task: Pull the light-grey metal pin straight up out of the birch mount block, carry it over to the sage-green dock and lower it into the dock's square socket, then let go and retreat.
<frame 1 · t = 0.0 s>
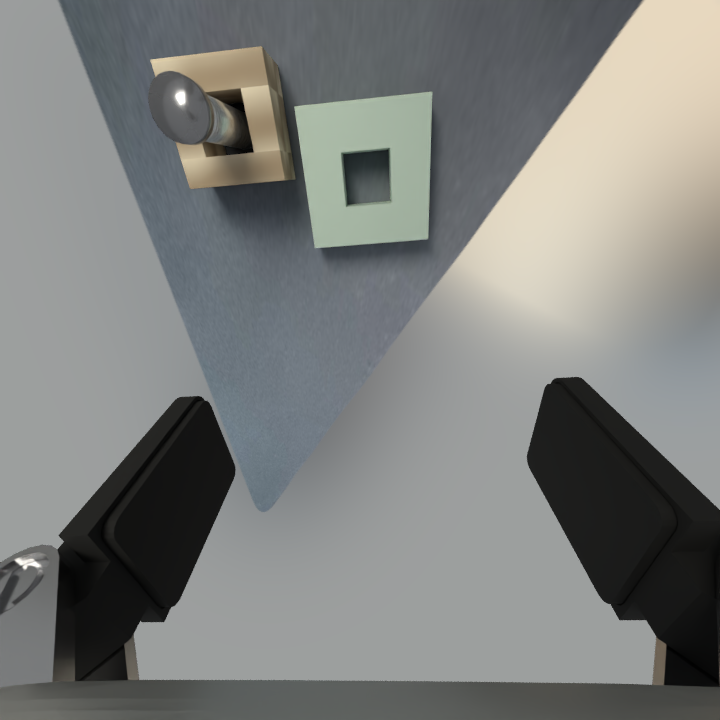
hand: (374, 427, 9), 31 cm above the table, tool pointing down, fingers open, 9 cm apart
mount: (242, 131, 31), on the table
pin: (217, 122, 26), in the mount
dock: (367, 178, 33), on the table
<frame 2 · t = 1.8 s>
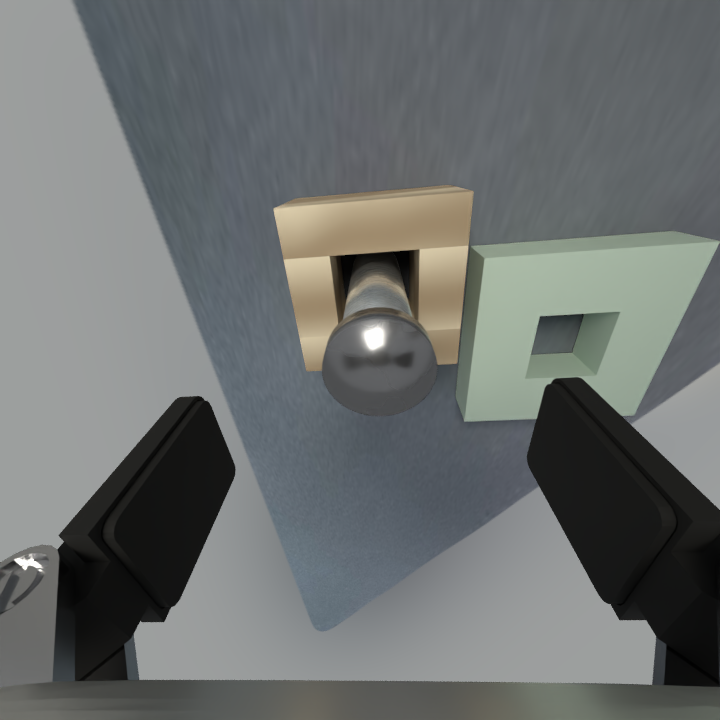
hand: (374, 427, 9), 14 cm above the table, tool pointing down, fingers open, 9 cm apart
mount: (375, 268, 21), on the table
pin: (376, 303, 16), in the mount
dock: (547, 326, 23), on the table
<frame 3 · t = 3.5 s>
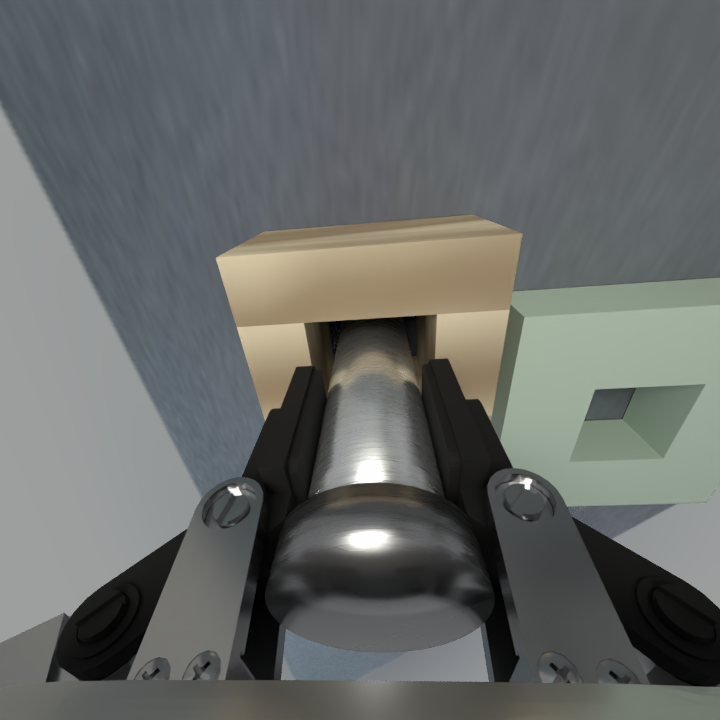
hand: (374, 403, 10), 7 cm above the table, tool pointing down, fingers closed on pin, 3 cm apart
mount: (372, 320, 16), on the table
pin: (373, 392, 11), in the mount, touching gripper
dock: (592, 389, 18), on the table
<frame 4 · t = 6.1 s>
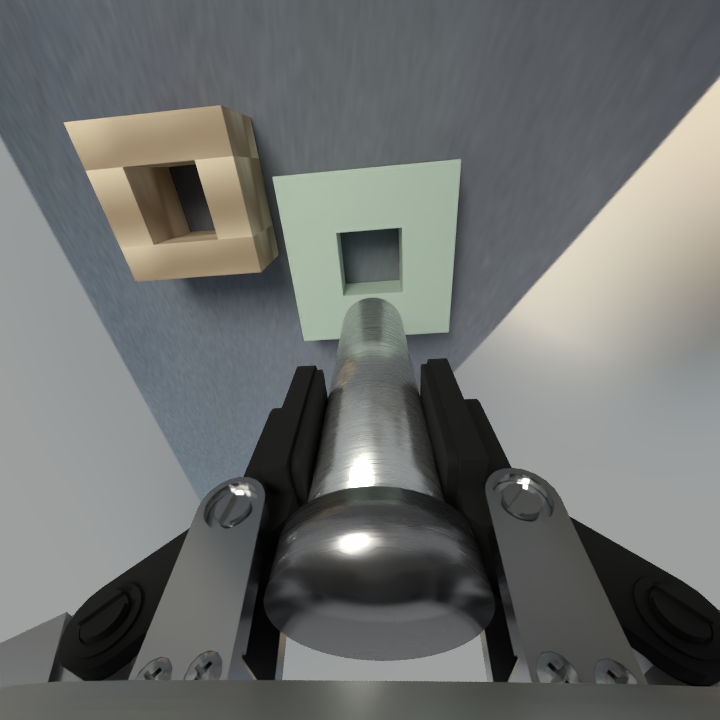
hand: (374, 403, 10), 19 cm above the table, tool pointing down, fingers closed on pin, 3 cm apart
mount: (207, 198, 24), on the table
pin: (373, 397, 11), point 18 cm above the table, touching gripper
dock: (370, 254, 26), on the table
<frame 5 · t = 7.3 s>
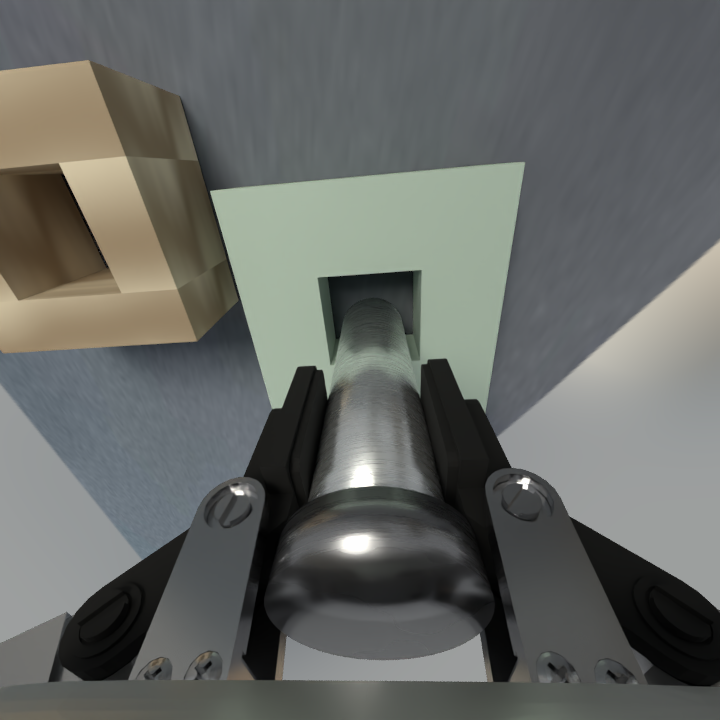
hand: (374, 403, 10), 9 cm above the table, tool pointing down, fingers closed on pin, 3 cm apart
mount: (126, 220, 16), on the table
pin: (373, 397, 11), point 8 cm above the table, touching gripper
dock: (371, 299, 18), on the table
when the fingers open (8 cm above the table, at t = 8.5 s): pin stays where it is, resting in dock.
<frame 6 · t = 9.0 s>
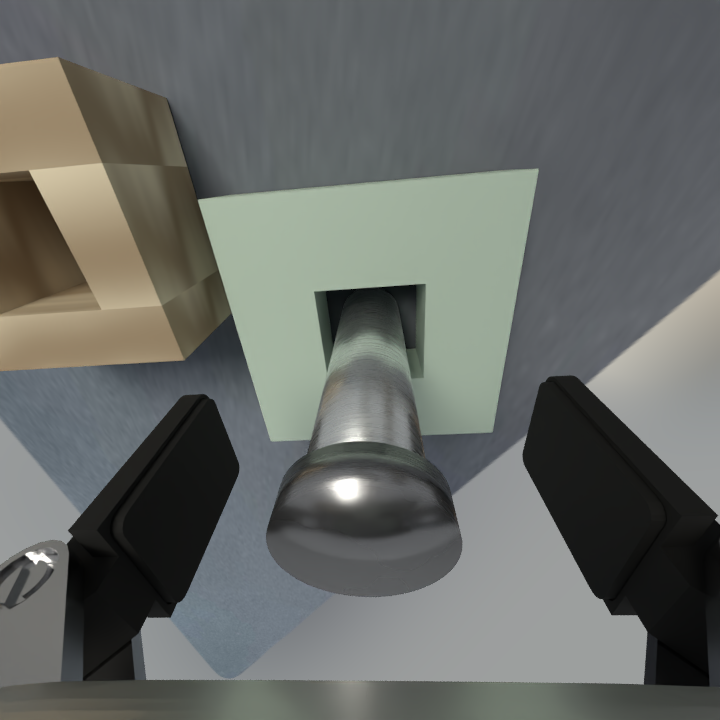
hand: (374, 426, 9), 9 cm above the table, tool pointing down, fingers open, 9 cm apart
mount: (112, 230, 15), on the table
pin: (368, 377, 11), in the dock
dock: (372, 312, 17), on the table
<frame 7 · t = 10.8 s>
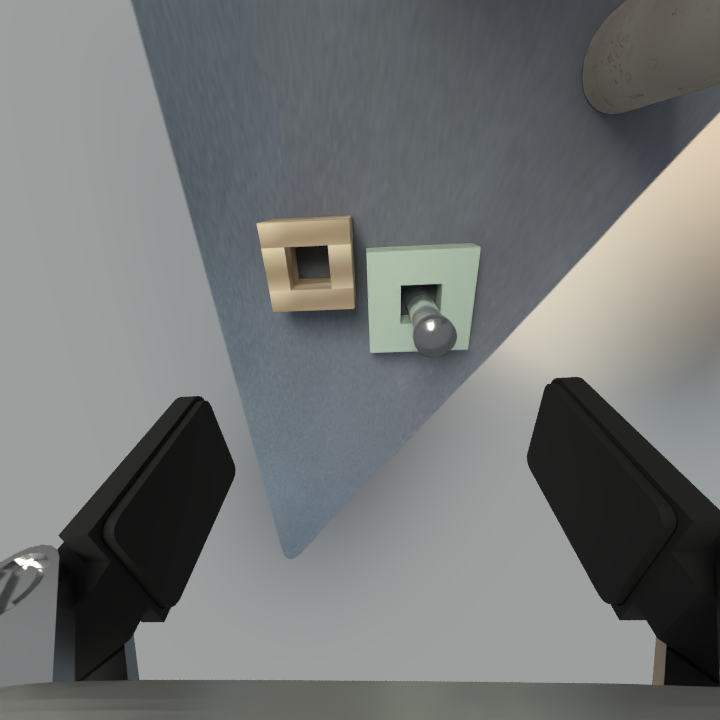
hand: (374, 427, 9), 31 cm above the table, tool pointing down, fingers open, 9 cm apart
mount: (315, 259, 37), on the table
pin: (424, 314, 33), in the dock
thermos bottle: (627, 59, 28), on the table
dock: (417, 296, 39), on the table
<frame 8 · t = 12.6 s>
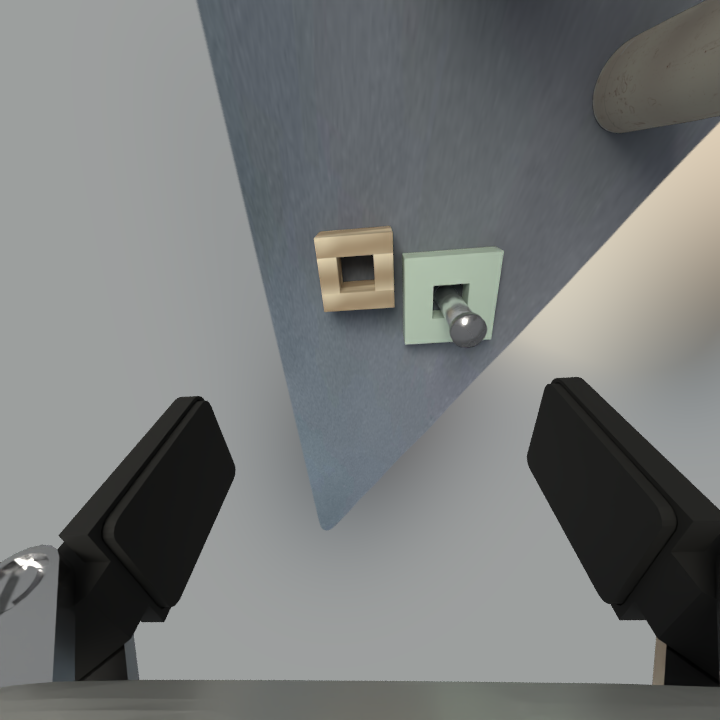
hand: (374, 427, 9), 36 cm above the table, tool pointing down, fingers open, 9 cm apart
mount: (357, 264, 43), on the table
pin: (455, 310, 39), in the dock
thermos bottle: (632, 86, 33), on the table
dock: (445, 294, 44), on the table
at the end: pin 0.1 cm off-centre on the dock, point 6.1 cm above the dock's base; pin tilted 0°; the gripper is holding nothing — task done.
